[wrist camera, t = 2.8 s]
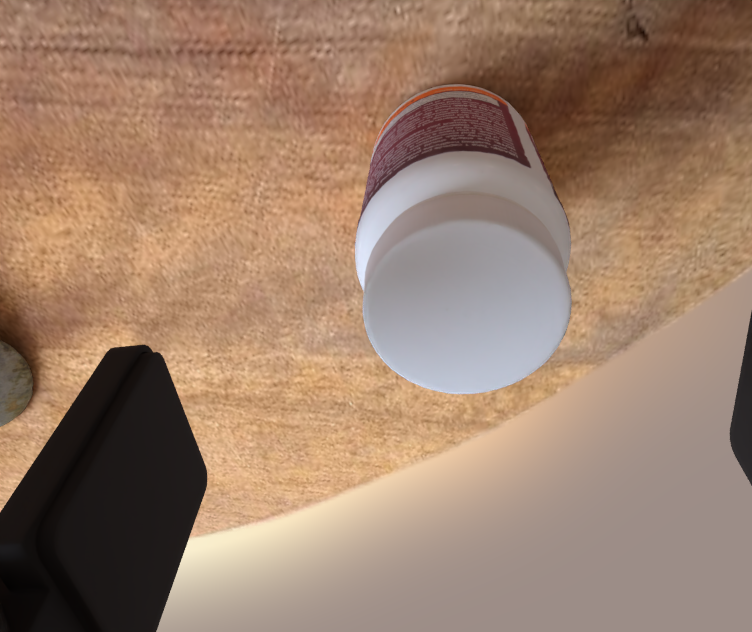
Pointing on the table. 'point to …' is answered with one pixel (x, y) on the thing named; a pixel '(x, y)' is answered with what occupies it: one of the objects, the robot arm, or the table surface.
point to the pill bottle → (462, 244)
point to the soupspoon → (13, 383)
